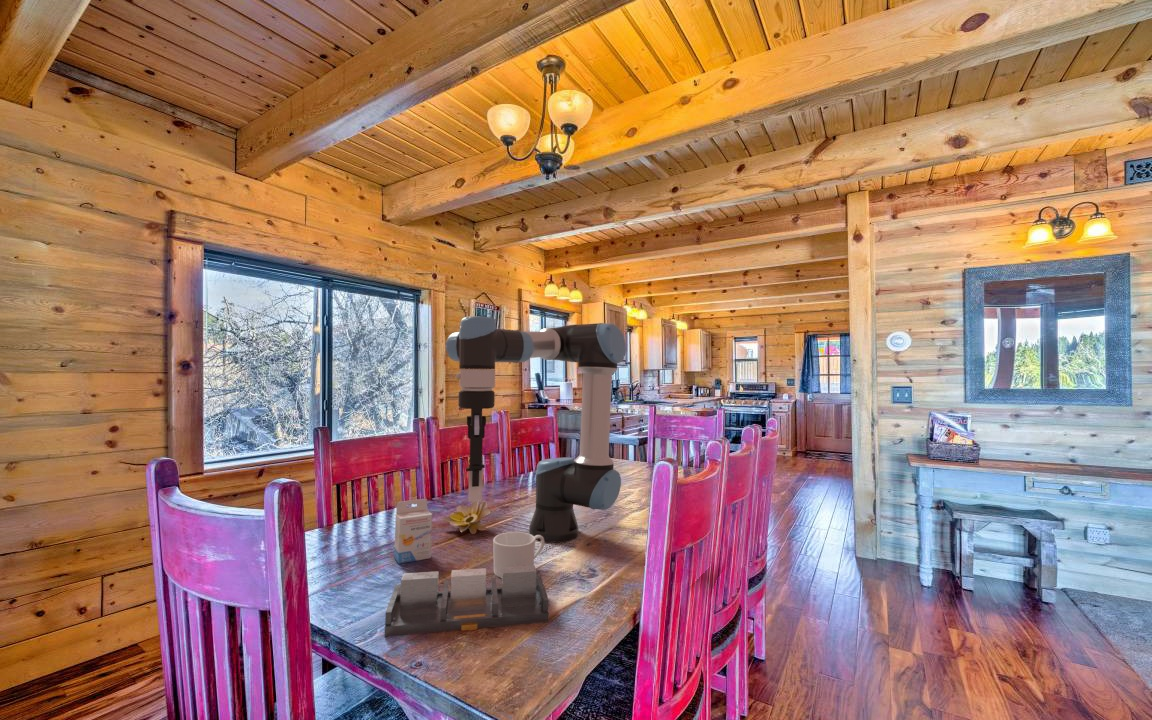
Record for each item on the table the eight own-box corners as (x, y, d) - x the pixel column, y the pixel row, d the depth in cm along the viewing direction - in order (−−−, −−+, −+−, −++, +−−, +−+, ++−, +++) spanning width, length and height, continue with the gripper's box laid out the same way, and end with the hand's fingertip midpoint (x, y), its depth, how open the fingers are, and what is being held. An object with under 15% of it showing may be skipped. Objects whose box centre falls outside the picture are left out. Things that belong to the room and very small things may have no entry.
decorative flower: (434, 521, 152) (443, 490, 153) (465, 523, 159) (473, 493, 160) (455, 538, 141) (464, 504, 142) (487, 539, 148) (496, 507, 149)
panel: (484, 601, 102) (485, 568, 102) (485, 608, 98) (486, 574, 99) (450, 604, 100) (451, 570, 100) (450, 611, 97) (451, 576, 97)
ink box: (398, 564, 122) (400, 506, 123) (393, 558, 127) (395, 502, 127) (431, 558, 127) (433, 502, 127) (426, 552, 131) (427, 497, 132)
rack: (539, 592, 109) (540, 556, 109) (548, 623, 96) (549, 582, 96) (395, 603, 102) (396, 564, 103) (383, 638, 89) (385, 593, 89)
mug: (500, 583, 113) (501, 549, 113) (486, 566, 122) (487, 535, 123) (552, 573, 119) (552, 540, 119) (535, 558, 129) (536, 528, 129)
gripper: (459, 387, 108) (457, 493, 107) (458, 391, 95) (456, 510, 95) (493, 388, 109) (491, 491, 109) (496, 391, 97) (494, 508, 96)
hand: (474, 500), depth 102 cm, fingers closed
